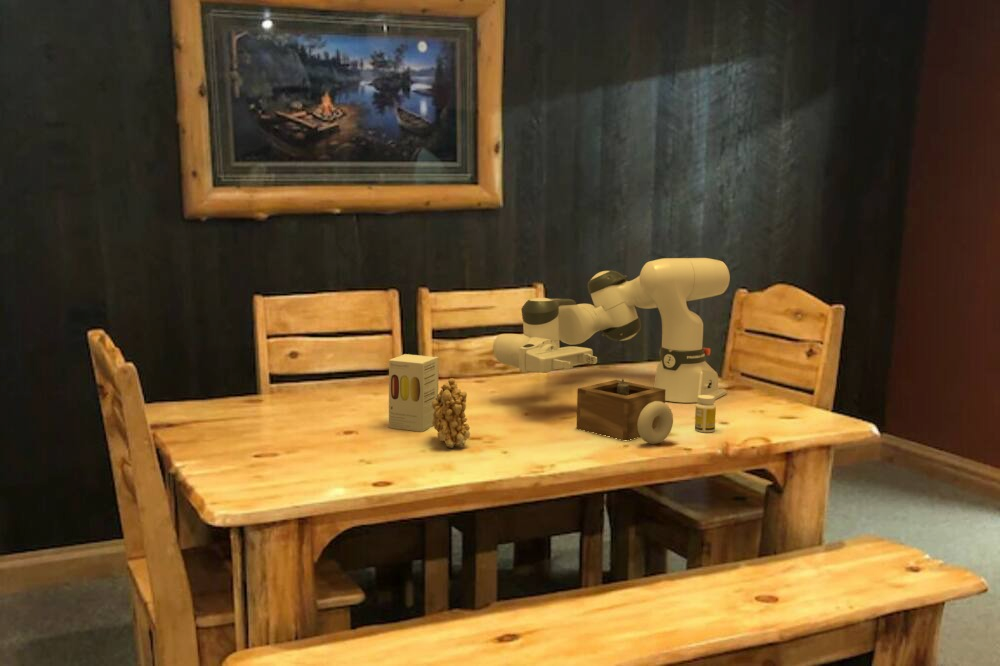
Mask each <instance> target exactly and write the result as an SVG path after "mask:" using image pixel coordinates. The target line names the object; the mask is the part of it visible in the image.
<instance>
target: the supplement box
mask: <svg viewBox="0 0 1000 666" xmlns="http://www.w3.org/2000/svg"><path fill="white" fill-rule="evenodd" d="M439 363H440V362H439V356H428V355H418V354H410V353H408V354H407V353H404V354H402V355H399V356H396V357H394V358H390V359H389V360H388V428H389V429H396V430H404V431H405V430H406V431H412V432H421V433H423V432H425V431H427V430H429V429H431V428H432V427H434V425H433V424H432V422H433V419H434V417H433V414H434V411H435V410H434V409H433V407H432V402H433V401H434V400H436V398H437V395H438V394H439Z"/></svg>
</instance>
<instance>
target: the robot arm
mask: <svg viewBox="0 0 1000 666" xmlns="http://www.w3.org/2000/svg"><path fill="white" fill-rule="evenodd" d="M626 278H628V276H627V275H626V274H624V275H623V274H622V273H620V272H618V271H615V270H612V269H611V270H603V271H599V272H597V273H596V274H595V275H594V276H592V278H590V280H588V282H587V290H588V294H590V297H591V300H592V302H593V304H591V303H578V304H577V302H576V301H575V300H574V299H570V298H547V297H540V296H539V297H533V298H530V299H528V300H527V301H526V302H525V303H524V304H523V305H522V307H521V316H522V318H521V319H522V324H523V325H522V326H523V327H522V328H523V334H518V333H501V334H498V335H497V336H496V338H495V339H494V342H493V355H494V358H495V360H496V361H498V362H499V363H501V364H504V365H505V366H506V365H507V366H510V367H513V368H517V369H519V372H520V373H542V374H548V373H550V372H551V371H556V370H560V369H561V370H562V369H563V370H572V369H573V368H574V367H575V366H581V365H585V364H589V365H595V364H597V363H598V357H597V356H594V355H593V354H594V351H593V349H592V348H589V347H583V346H574V345H580V344H582V343H585V342H586V341H587V340H589V339H590V338H592V336H593V335H594V334H596V333H597V332H600V331H601V332H602V334H601V336H602V337H607V338H608V339H609V340H612V341H615V342H619V341H622V342H624V341H627V340H631V339H632V338H634V337H635V336H636V335H637V334H638V333H639V332H640V330H641V328H642V324H641V319H640V317H639V316H638V313H637V309H636V307H637V308H639V309H650V310H651V309H658V311H659V314H660V318H661V346H660V348H659V360H660V362H659V363H658V364H657V366H656V372H655V377H654V378H655V379H654V385H653V387H655V388H660V389H665V390H666V392H665V402H671V403H673V402H674V403H684V404H685V403H698V402H697V400H698V396H699V395H711V396H714V397H715V400H718V399H719V398H721V397H723V396H725V395H727V389H724V388H720V387H719V375H718V374H719V373H718V372H717V371H715V369H714V368H712V367H711V366H710V364H708V362H707V360H706V359H707V358H706V356H710V355H711V350H712V349H711V348H710V347H703V341H704V322H703V320H702V318H701V317H700V315H698V314H697V313H695V312H694V311H692V310H690V309H689V307H688V305H687V302H690V301H697V300H701V299H707V298H712V297H716V296H720V295H722V294H724V293H725V292H726V291H727V290H728V287H729V285H730V281H731V280H730V279H731V277H730V271H729V268H728V266H727V265H726V263H724V261H722V260H719V259H713V258H709V257H708V258H707V257H691V258H690V257H689V258H688V257H680V258H679V257H677V258H676V257H675V258H674V257H672V258H671V257H670V258H669V257H667V258H665V257H664V258H658V259H655V260H650V261H648V262H646V263H645V264H644V265H643V267H642V268H641V270H640V273H639V275H637V277H636V278H634V279H631V280H629V281H628V280H627V279H626ZM560 341H561V342H562V343H564V344H567V345H569V346H563V347H560ZM572 345H573V346H572Z"/></svg>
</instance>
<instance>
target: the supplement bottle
mask: <svg viewBox="0 0 1000 666" xmlns="http://www.w3.org/2000/svg"><path fill="white" fill-rule="evenodd" d="M715 401H716V399H715V397H714V396H711V395H699V396H698V400H697V402H696V404H695V414H694V415H695V416H694V417H695V418H694V430H695V431H696V432H698V431H699V433H705V434H706V433H713V432H715V430H716V415H717V413H716V412H717V411H716V410H717V406H716V404H715Z"/></svg>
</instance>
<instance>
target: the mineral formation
mask: <svg viewBox="0 0 1000 666" xmlns="http://www.w3.org/2000/svg"><path fill="white" fill-rule="evenodd" d="M440 388H441V389H440V391H439V392H438V395H437V398H436V400H434V401H433V402H432V407H433V409H434V410H435V411H434V414H433V417H434V419H433V422H432V424H433V425H434V426H433V428H434V429H435V430H436V431H437V438H438V439H439V441H443V442H445V446H447V448H449V449H452V448H455V446H457V447H461V446H462V445H463V446H464V445H466V443H467V440H468V439H470V438H471V432H470V428H471V427H470V425H469V424H468V423H466V422H467V421H468V418H467V417H466V412H465V411H466V407H467V405H466V403H467V396H468V393H467V392H466V391H462V390H461V389H459V388H458V384H457V383H456V380H455V378H453V377H452V378H451V377H450V378H449V379H448V383H444V384H443V385H442V386H441V387H440Z"/></svg>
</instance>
